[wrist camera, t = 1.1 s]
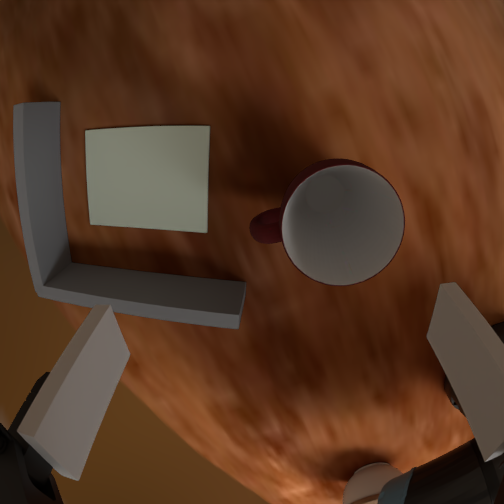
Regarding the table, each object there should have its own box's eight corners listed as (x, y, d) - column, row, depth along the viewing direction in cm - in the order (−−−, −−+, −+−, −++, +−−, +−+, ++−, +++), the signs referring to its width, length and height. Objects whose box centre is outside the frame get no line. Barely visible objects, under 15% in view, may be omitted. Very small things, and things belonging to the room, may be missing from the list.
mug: (277, 257, 31) (275, 316, 22) (240, 182, 29) (220, 211, 19) (378, 216, 29) (418, 259, 19) (347, 136, 26) (382, 143, 17)
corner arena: (257, 89, 25) (252, 80, 20) (245, 294, 33) (238, 329, 27) (50, 103, 26) (13, 105, 21) (64, 272, 34) (36, 296, 29)
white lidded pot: (416, 456, 44) (428, 503, 34) (378, 485, 49) (384, 528, 39) (364, 452, 43) (372, 506, 33) (327, 482, 48) (329, 529, 38)
